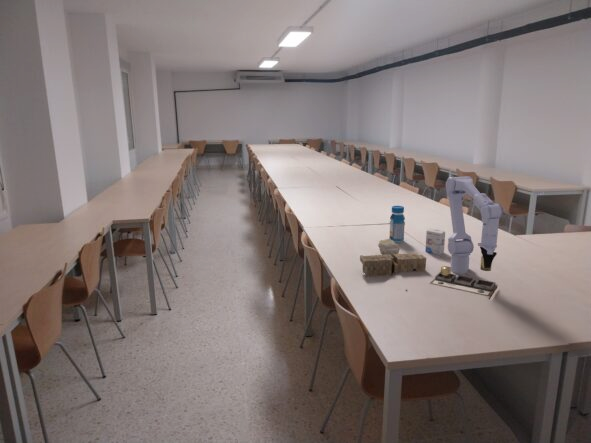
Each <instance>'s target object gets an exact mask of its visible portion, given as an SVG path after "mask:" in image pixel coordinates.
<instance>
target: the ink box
mask: <svg viewBox="0 0 591 443" xmlns="http://www.w3.org/2000/svg"><path fill="white" fill-rule="evenodd" d="M425 234H426V236H425V238H426V239H425V249H424V250H425V252H426V253H431V254H434V255H435V254H436V255H439V256H440V255H442V254H445V243H446V242H445V241H446V240H445V239H446V231H445V230H442V229H441V230H440V229H435V228H429V229H426V233H425Z"/></svg>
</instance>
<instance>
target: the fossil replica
mask: <svg viewBox="0 0 591 443" xmlns="http://www.w3.org/2000/svg"><path fill="white" fill-rule="evenodd" d="M377 246H378V248H379V253H380V255H387V254H390V255H391V256H392V257H393V254H399V252H400V247H399V244H397V242H393V240H391V239H389V238H387V239H383V240H382V239H381V240H379V241H378V245H377Z"/></svg>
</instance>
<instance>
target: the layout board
mask: <svg viewBox="0 0 591 443" xmlns="http://www.w3.org/2000/svg"><path fill="white" fill-rule="evenodd" d="M429 284H430V285H434V286H439V287H444V288H447V289H453V290H457V291H463V292H467V293H471V294H476V295H480V296H485V297H489V298H488V300H490V299H491V298H492V296H493V295H494V294H495V292H496V290H497V289H498V284H497V283H496V282H494V281H491V280H490V281H489V280H485V279H481V278H480V279H477V280H476V278H475V277H470V276H464V275H460V274H459V275H458V276H457V274H456V273H451V275H450V279H448V278H443V277H441V271H439V272H438V273H437V274H436V275H435V277H434V278H433V279H432V281H430V282H429Z"/></svg>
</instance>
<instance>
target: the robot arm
mask: <svg viewBox="0 0 591 443" xmlns="http://www.w3.org/2000/svg"><path fill="white" fill-rule="evenodd" d="M445 191H446V196H447V197H448V202H449V209H450V219H451V227H452V233H453V234H451V235H450V237H448V239H447V242H448V243H447V251H448V254H450V255H451V257H450V268H451V273H453V274H459V275H460V274H461V275H462V274H463V275H464V274H467V272H468V270H469V267H470V256H471V254H472V253H473V251H474V248H475V246H474V245H475V244H474V242H473V241H472V240H473V239H472V236H471V235H469V234H468V233H466V232H467V231H466V225H465V220H464V219H465V218H464V209H463V203H462V198H463V197H464V196H465V195H468V196H469V197H470V198H472V203H473V204H474V205H475V207H476V208H477V209H478V210H479V211H480V216H481V223H482V229H481V241H480V242H478V243H477V246H478V247H479V248H480V254H481V255H482V256H483V260H484V268H490V267H491V268H492V265H491V264H493V261H494V259H495V257H496V256H497V254H498V252H496V251H495V250H496V249H497V247H498V244H497V243H498V232H499V224H500V219H502V217H503V216H504V208H503V206H502V205H501V203H496V202H493V200H492V199H491V198H490V197H489V196H488V195H487V194H486V193H483V192H481V193H480V191H479V190H478V189H477V188H476V186H475V185H474V179H473V178H472V177H471V176H469V175H466V176H449V177H448V178H447V179H446V181H445ZM482 256H481V257H482Z"/></svg>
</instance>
